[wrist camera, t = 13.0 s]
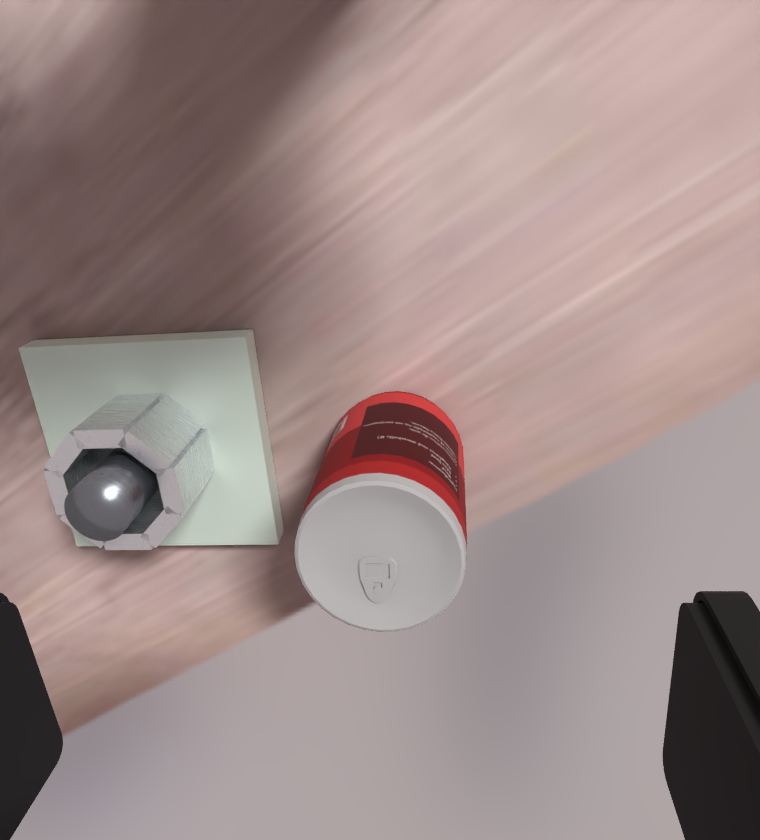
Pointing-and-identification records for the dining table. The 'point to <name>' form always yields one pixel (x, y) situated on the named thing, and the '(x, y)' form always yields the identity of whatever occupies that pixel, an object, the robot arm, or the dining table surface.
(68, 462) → the metal ring
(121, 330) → the dining table surface
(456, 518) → the canned food
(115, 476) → the steel post
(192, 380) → the green board
